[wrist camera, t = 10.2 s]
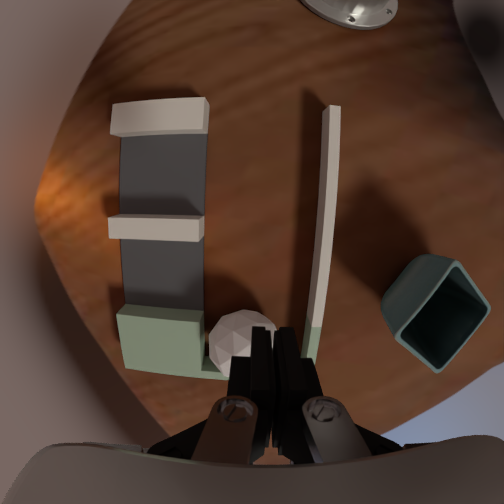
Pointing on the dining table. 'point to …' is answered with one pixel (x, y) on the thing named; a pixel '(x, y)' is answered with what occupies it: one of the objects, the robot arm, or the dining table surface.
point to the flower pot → (434, 309)
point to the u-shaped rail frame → (188, 234)
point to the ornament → (235, 337)
